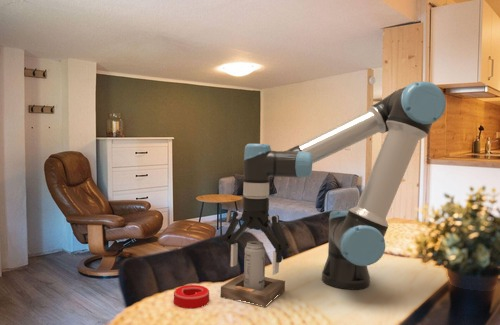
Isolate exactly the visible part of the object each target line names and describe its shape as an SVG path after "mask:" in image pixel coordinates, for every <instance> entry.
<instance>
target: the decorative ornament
mask: <svg viewBox="0 0 500 325" xmlns="http://www.w3.org/2000/svg"><path fill="white" fill-rule="evenodd" d="M208 302H209V303H210V290H209V288H207V287H205V286H204V285H198V284H189V285H182V286H179V287H177V288H176V289H175V290H174V291H173V304H174V305H175V307H179V308H181V309H187V310H188V309H199V308H202V306H203V307H205V306H207V305H208V304H209V303H208ZM207 303H208V304H207ZM206 304H207V305H206ZM204 305H205V306H204Z"/></svg>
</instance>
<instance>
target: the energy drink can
mask: <svg viewBox="0 0 500 325" xmlns="http://www.w3.org/2000/svg"><path fill="white" fill-rule="evenodd" d="M243 257H244V262H243V264H244V265H243V266H244V267H243V271H244V272H243V273H244V287H245V288H250V289H254V290H258V291H261V290H263V289H264V280H265V277H266V276H265V274H266V273H265V272H266V248H265V245H264V242H263V241H258V240H249V241H247V242H246V246H245V247H244V256H243Z"/></svg>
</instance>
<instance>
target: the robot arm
mask: <svg viewBox="0 0 500 325" xmlns="http://www.w3.org/2000/svg"><path fill="white" fill-rule="evenodd" d="M446 108H447V99H446V96H445V94H444V92H443V90H442V89H441V88H440V87H439V86H438V85H436V84H435V83H432V82H430V81H425V80H424V81H417V82H416V81H415V82H412V83H409V84H408V85H407V86H405V87H403V88H399V89H397V90H395V91H393V92H392V93H390V94H389V95H387V96H386V97H384V98H383V99H381V100H380V101H378V102H376V103H375V104H373V105H371V106H369V107H368V110H367V111H365V112H363V113H362V114H359V115H357V116H355V117H353V118H351V119H348V120H347V121H344V122H343V123H341V124H339V125H335V127H332V128H330V129H328V130H326V131H324V132H321V133H320V134H318V135H315V136H314V137H311V138H309V139H307V140H305V141H303V142H301V143H299V144H298V145H295V146H293V147H291V148H289V149H287V150H281V151H277V150H272V148H271V144H269V143H247V144H246V145H245V146H244V155H243V157H244V158H243V187H242V188H243V191H242V195H243V196H244V197H243V199H242V211H240V210H236V211H234V212H233V213H232V219H231V221H230V223H229V225H228V227H227V229H226V231H225V233H224V235H223V238H222V241H223V242H226V243H228V254H229V255H230V267H231V268H233V267H235V266H237V265H238V250H239V249H238V248H239V247H238V246H239V244H238V242H237V241H238V240H239V238H240V237H241V236H242V235H243V233H245V231H247V229H249V230H250V229H251V230H252V229H254V230H257V231H260V230H261V232H262V233H264V235H265V237H266V238H267V239H268V241H269V242H270V244H271V245H272V247H273V248H274V250H273V251H272V275H274V276H275V275H277V274H278V273H280V272H279V270H280V263H282V261H283V251H286V250H288V249H289V248H290V245H289V242H288V241H287V237H286V236H285V233H284V231H283V228H282V226H281V223H280V215H278V214H275V215H270V214H269V210H270V206H269V205H270V199H269V196H270V178H271V177H273V178H275V177H277V178H295V179H301V178H307V179H308V178H310V177H311V175H312V173H313V165H314V164H315V163H317V162H320V161H321V160H324V159H325V158H328V157H330V156H333V155H334V154H336V153H338V152H340V151H342V150H345V149H346V148H349V147H351V146H353V145H355V144H357V143H359V142H362V141H364V140H366V139H367V138H371V137H372V136H374V135H376V134H377V133H380V134H385V133H386V135H385V137H384V140H383V142H382V145H381V147H380V150H379V152H378V154H377V157H376V159H375V162H374V164H373V166H372V169H371V171H370V173H369V175H368V178H367V181H366V183H365V186H364V188H363V190H362V192H361V194H360V197H359V200H358V201H357V205H356V206H354V207H351V208H349V209H348V210H333V211H330V213H329V219H328V247H327V248H328V251H327V252H328V255H327V259H326V260H325V263H324V266H323V269H322V271H321V272H322V273H321V280H322V282H323V283H324V284H327V285H328V286H331V287H334V288H338V289H344V290H362V289H365V288H368V287H369V286H370V284H371V276H370V273H369V269H368V266H371V265H374V264H375V263H377V262H378V261H379V260H381V258H382V257H383V255H384V254H385V251H386V241H385V235H386V233H387V231H388V228H389V223H388V221H387V219H386V218H387V216H388V213H389V211H390V209H391V206H392V204H393V202H394V200H395V196H396V195H397V192H398V190H399V189H400V185H401V183H402V180H403V179H404V176H405V174H406V172H407V170H408V168H409V164H410V162H411V160H412V157H413V155H414V152H415V150H416V148H417V146H418V143H419V141H420V140H422V139H424V138H426V137H427V136H428V135H429V132H430V130H431V127H432V126H433V123H436V122H437V121H438V120H439V119H440V118H442V116H443V115H444V113H445V111H446ZM241 219H242V220H243V223H242V224H241V225H240V227H238V229H237V230H236V228H237V226H238V224H239V222H240V220H241ZM269 221H270V224H271V225H272V228H273V230H274V232H273V230H272V228H271V226H270V224H269V223H268V222H269ZM235 230H236V231H235ZM234 232H235V233H234Z"/></svg>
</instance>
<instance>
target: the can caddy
mask: <svg viewBox="0 0 500 325" xmlns="http://www.w3.org/2000/svg"><path fill="white" fill-rule="evenodd" d="M285 291H286V280H283V279H277V278H273V277H266V276H265V280H264V289H263V290H261V291H258V290H254V289H250V288H245V287H244V272H243V273H241V274H240V275H238V276H236V277H235V278H233V279H231V280H229V281H228V282H226V283H224V284H223V285H221V286H220V298H223V297H225V298H224V299H227V298H230V299H229V300H231V299H235V300H241V301H246V302H250V303H254V304H258V305H262V306H266V305H267V304H268V303H269V302H270V301H271V300H273V299H274V298H275V297H276V296H277V295H279V294H280V295H281V294H283V293H284V292H285ZM280 295H279V296H280ZM235 300H234V301H235ZM273 301H274V300H273ZM266 307H267V306H266Z"/></svg>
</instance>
